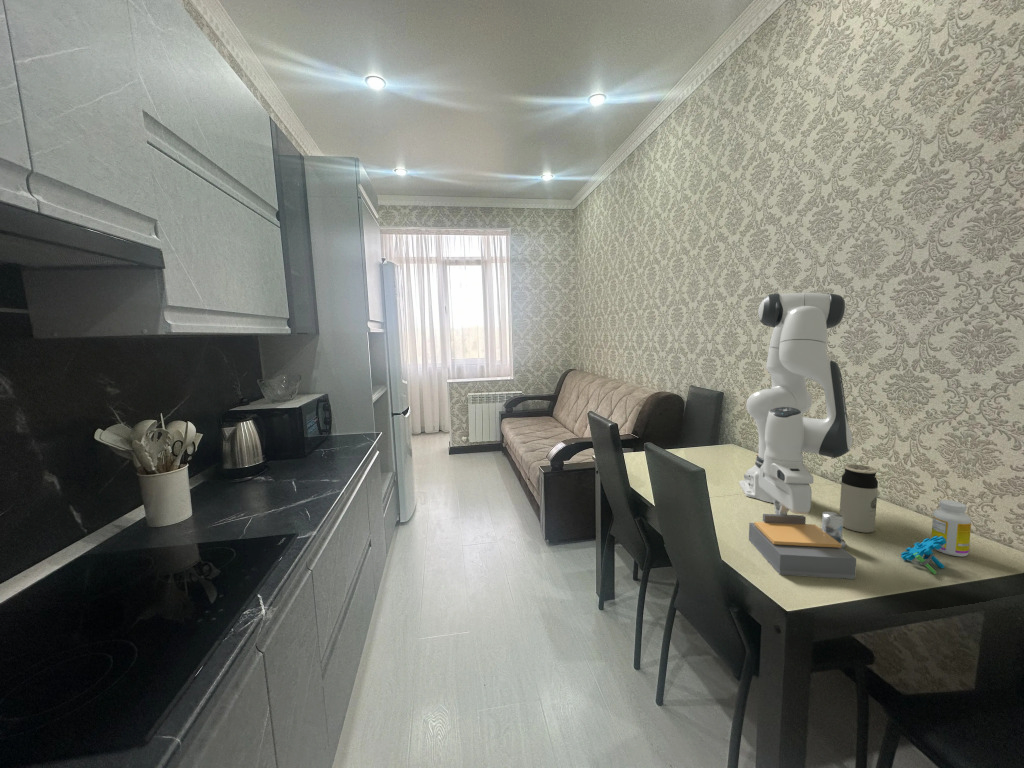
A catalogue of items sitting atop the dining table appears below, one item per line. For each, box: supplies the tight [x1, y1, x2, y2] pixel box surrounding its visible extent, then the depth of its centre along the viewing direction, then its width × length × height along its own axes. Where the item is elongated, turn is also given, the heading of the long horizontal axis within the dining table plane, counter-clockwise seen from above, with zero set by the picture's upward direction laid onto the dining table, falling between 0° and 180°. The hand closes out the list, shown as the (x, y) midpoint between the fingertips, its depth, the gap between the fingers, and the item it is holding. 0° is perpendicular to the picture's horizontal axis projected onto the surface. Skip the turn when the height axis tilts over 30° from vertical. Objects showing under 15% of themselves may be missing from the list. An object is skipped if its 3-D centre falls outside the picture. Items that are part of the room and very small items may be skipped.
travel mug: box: [839, 463, 879, 534], centre depth 116 cm, size 8×8×18 cm
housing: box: [748, 522, 857, 580], centre depth 101 cm, size 17×16×5 cm
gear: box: [900, 536, 947, 575], centre depth 97 cm, size 11×6×10 cm
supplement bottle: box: [930, 499, 972, 557], centre depth 103 cm, size 7×7×13 cm
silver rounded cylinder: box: [821, 511, 847, 549], centre depth 108 cm, size 6×6×8 cm
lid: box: [753, 513, 842, 548], centre depth 103 cm, size 12×15×3 cm
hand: (780, 516), depth 110 cm, fingers closed
